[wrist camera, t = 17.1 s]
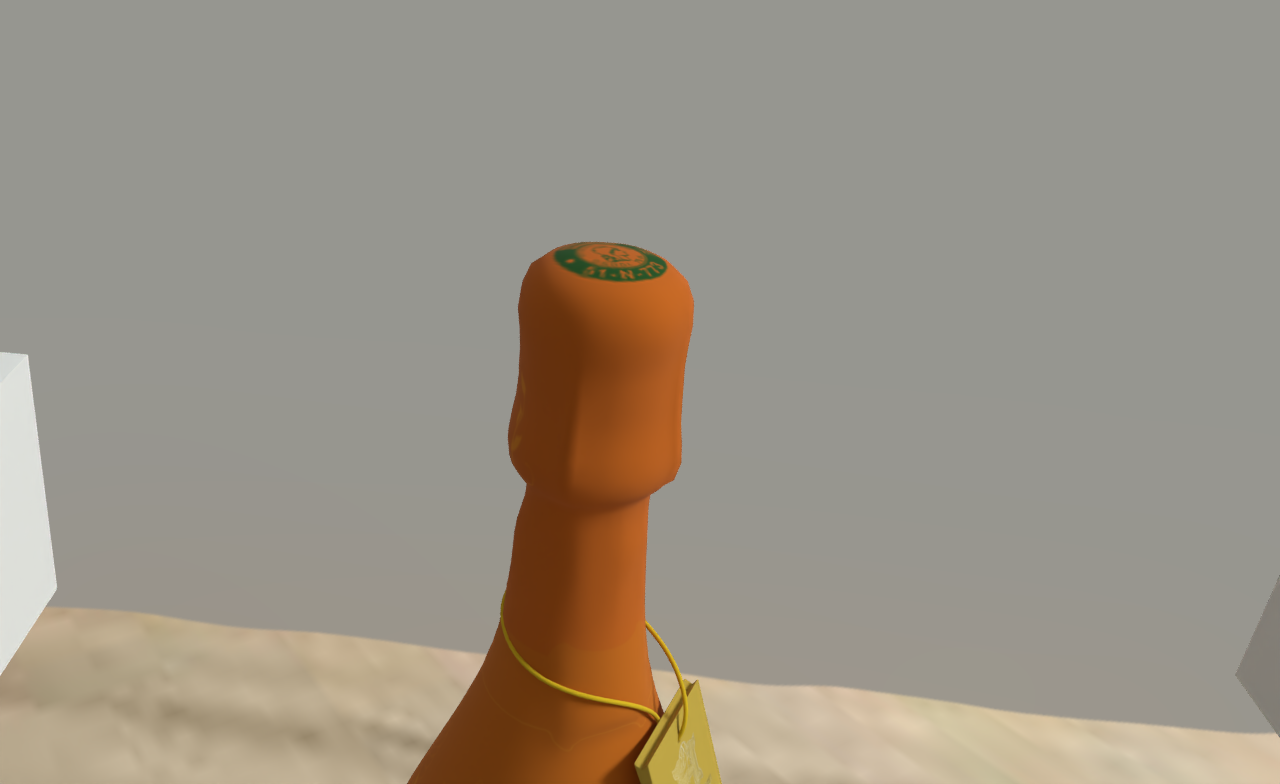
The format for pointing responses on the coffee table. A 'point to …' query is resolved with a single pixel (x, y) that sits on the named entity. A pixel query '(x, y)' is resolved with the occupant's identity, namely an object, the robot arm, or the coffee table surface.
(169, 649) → the coffee table surface
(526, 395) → the wine bottle
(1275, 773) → the coffee table surface
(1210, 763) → the coffee table surface
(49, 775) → the coffee table surface
